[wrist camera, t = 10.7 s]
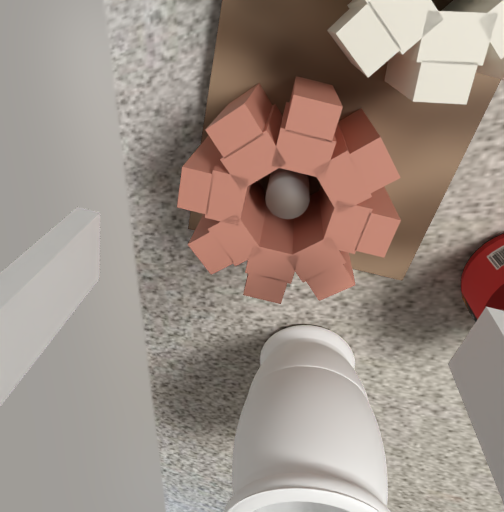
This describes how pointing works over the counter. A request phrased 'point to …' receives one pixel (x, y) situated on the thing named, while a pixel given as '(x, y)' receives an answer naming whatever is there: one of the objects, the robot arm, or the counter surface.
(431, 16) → the gear
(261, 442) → the jar
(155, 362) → the counter surface
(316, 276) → the gear
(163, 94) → the counter surface
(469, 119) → the gear board
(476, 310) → the canned food
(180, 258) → the counter surface
